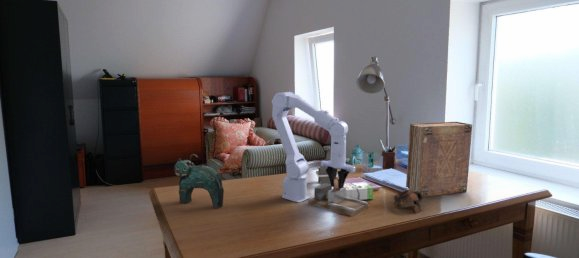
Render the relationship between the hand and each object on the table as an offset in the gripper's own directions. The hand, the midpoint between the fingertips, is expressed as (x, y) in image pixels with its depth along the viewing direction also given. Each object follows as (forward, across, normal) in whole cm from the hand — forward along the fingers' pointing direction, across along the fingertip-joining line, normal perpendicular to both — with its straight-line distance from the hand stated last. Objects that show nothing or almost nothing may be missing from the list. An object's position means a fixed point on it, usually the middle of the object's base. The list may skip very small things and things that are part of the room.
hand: (337, 187), depth 148 cm
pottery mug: (+8, -23, -16) cm, 29 cm away
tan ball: (+4, +3, 0) cm, 5 cm away
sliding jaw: (+6, 0, 0) cm, 6 cm away
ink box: (+5, -4, -18) cm, 19 cm away
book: (+8, -24, -44) cm, 50 cm away
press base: (+7, 0, 0) cm, 7 cm away
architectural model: (+8, +20, -22) cm, 30 cm away
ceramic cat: (+8, +41, +34) cm, 54 cm away
